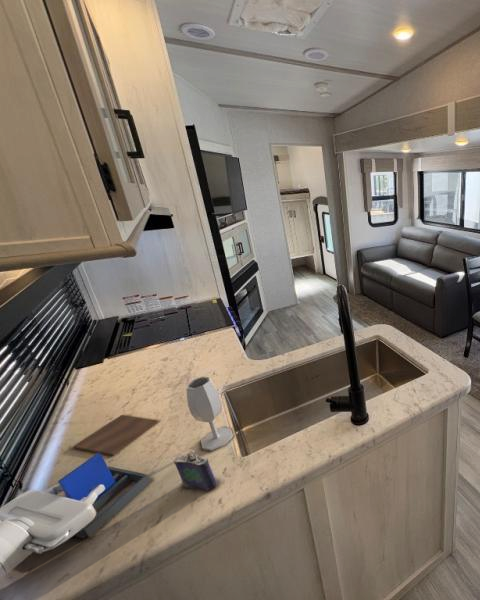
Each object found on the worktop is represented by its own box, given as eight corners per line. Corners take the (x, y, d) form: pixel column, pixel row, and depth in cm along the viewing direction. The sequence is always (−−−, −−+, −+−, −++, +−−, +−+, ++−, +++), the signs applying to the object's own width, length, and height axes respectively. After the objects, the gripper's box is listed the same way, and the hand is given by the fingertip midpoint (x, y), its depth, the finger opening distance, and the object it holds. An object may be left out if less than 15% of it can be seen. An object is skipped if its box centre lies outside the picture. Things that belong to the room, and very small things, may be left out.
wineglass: (238, 436, 95) (221, 379, 88) (209, 456, 88) (188, 395, 81) (224, 425, 100) (206, 370, 93) (195, 443, 93) (174, 385, 86)
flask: (181, 488, 79) (168, 456, 76) (191, 478, 82) (178, 446, 78) (212, 492, 77) (200, 460, 74) (221, 482, 80) (210, 450, 76)
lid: (79, 518, 73) (57, 481, 69) (115, 487, 80) (97, 452, 76) (83, 519, 73) (61, 482, 69) (119, 488, 80) (101, 453, 76)
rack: (41, 526, 72) (36, 519, 71) (110, 472, 85) (107, 465, 84) (87, 540, 68) (82, 532, 67) (151, 481, 82) (148, 474, 81)
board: (74, 448, 94) (73, 446, 94) (122, 417, 107) (121, 414, 107) (113, 456, 91) (112, 453, 90) (158, 422, 103) (157, 420, 103)
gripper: (36, 544, 58) (115, 480, 71) (-32, 523, 63) (53, 466, 75) (51, 565, 60) (125, 499, 73) (-16, 543, 65) (64, 485, 78)
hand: (88, 482), depth 74 cm, fingers open, 8 cm apart
